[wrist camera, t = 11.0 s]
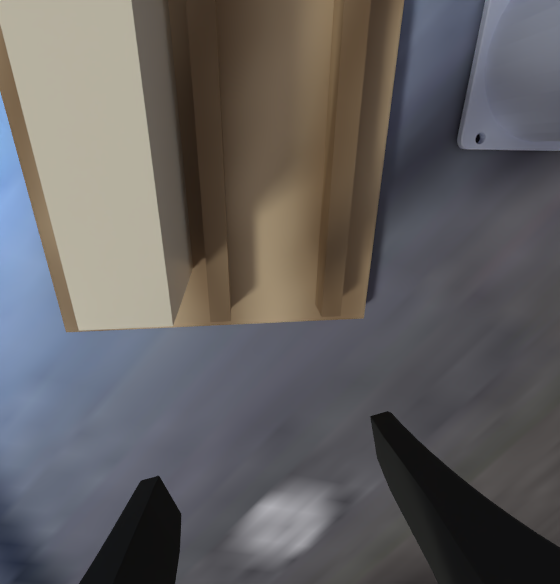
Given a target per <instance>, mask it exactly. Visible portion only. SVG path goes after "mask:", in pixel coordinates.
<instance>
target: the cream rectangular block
mask: <svg viewBox="0 0 560 584" xmlns="http://www.w3.org/2000/svg"><path fill="white" fill-rule="evenodd" d="M0 25H1V29H2V33H3V37H4V41H5V45H6V49H7V53H8V57H9V60H10V64H11V68H12V72H13V76H14V80H15V84H16V88H17V92H18V95H19V99H20V103H21V107H22V111H23V115H24V119H25V123H26V127H27V131H28V134H29V138H30V142H31V146H32V150H33V154H34V158H35V162H36V166H37V170H38V173H39V177H40V181H41V185H42V189H43V193H44V197H45V201H46V205H47V209H48V212H49V216H50V220H51V224H52V228H53V232H54V236H55V240H56V244H57V248H58V251H59V255H60V259H61V263H62V267H63V271H64V275H65V279H66V283H67V287H68V290H69V294H70V298H71V302H72V306H73V310H74V314H75V318H76V322H77V326H78V329H79V331H83V330H104V329H126V328H147V327H168V326H173V325H174V322H175V319H176V316H177V313H178V311H179V308H180V305H181V302H182V299H183V296H184V293H185V290H186V287H187V285H188V282H189V279H190V276H191V273H192V270H193V261H192V251H191V240H190V229H189V219H188V208H187V197H186V187H185V176H184V165H183V155H182V144H181V133H180V123H179V112H178V101H177V91H176V80H175V69H174V59H173V48H172V37H171V27H170V16H169V5H168V0H0Z"/></svg>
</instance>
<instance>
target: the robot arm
mask: <svg viewBox="0 0 560 584" xmlns="http://www.w3.org/2000/svg"><path fill="white" fill-rule="evenodd" d="M478 134H479V135H480V140H479V142H478V143H476V141H475V138H476V136H477V135H478ZM457 144H458V146H459V147H460V148H461V149H477V150H536V151H560V0H485V4H484V9H483V14H482V19H481V24H480V29H479V34H478V39H477V44H476V49H475V53H474V58H473V63H472V68H471V73H470V78H469V83H468V88H467V93H466V98H465V103H464V108H463V112H462V117H461V122H460V127H459V132H458V137H457ZM370 417H371V423H372V429H373V435H374V441H375V447H376V454H377V459H378V461H379V464H380V466H381V469H382V471H383V474H384V476H385V479H386V481H387V483H388V486H389V488H390V491H391V492H392V494H393V496H394V498H395V500H396V502H397V504H398V506H399V508H400V510H401V512H402V514H403V516H404V518H405V519H406V521H407V523H408V525H409V527H410V529H411V531H412V533H413V535H414V537H415V538H416V540H417V542H418V544H419V546H420V548H421V550H422V552H423V554H424V556H425V558H426V559H427V561H428V563H429V565H430V567H431V569H432V571H433V573H434V575H435V577H436V580H437V582H438V584H560V547H558V546H557V545H555V544H553V543H552V542H550V541H549V540H547V539H545V538H544V537H542V536H541V535H539V534H537V533H536V532H534V531H533V530H531V529H530V528H529V527H527V526H526V525H524V524H523V523H521V522H520V521H518V520H517V519H515V518H514V517H512V516H511V515H510V514H508V513H507V512H505V511H504V510H503V509H501V508H500V507H498V506H497V505H496V504H494V503H493V502H491V501H490V500H489V499H487V498H486V497H485V496H483V495H482V494H481V493H480V492H478V491H477V490H476V489H474V488H473V487H472V486H471V485H469V484H468V483H467V482H466V481H464V480H463V479H462V478H461V477H459V476H458V475H457V474H456V473H455V472H453V471H452V470H451V469H450V468H449V467H447V466H446V465H445V464H444V463H443V462H442V461H441V460H439V459H438V458H437V457H436V456H435V455H434V454H433V453H431V452H430V451H429V450H428V449H427V448H426V447H425V446H424V445H423V444H422V443H421V442H419V441H418V440H417V439H416V438H415V437H414V436H413V435H412V434H411V433H410V432H409V431H408V430H407V429H406V428H405V427H404V426H403V425H402V424H401V423H400V422H399V421H398V420H397V419H396V417H395V416H394V415H393V414H392V413H390V412H388V411H387V412H384V413H380V414H377V415H373V416H370ZM180 536H181V513H180V511H179V509H178V508H177V506H176V504H175V502H174V501H173V499H172V497H171V496H170V494H169V492H168V490H167V489H166V487H165V485H164V483H163V482H162V480H161V478H160V477H159V476H156V477H153V478H149V479H145V480H142V481H141V482H140V483H139V485H138V487H137V488H136V490H135V491H134V493H133V495H132V497H131V498H130V500H129V502H128V503H127V505H126V507H125V509H124V510H123V512H122V514H121V516H120V517H119V519H118V521H117V522H116V524H115V526H114V528H113V529H112V531H111V533H110V534H109V536H108V538H107V539H106V541H105V543H104V544H103V546H102V548H101V549H100V551H99V553H98V554H97V556H96V558H95V559H94V561H93V562H92V564H91V566H90V567H89V569H88V570H87V572H86V574H85V575H84V577H83V578H82V580H81V581H80V583H79V584H175V580H176V573H177V566H178V559H179V552H180Z"/></svg>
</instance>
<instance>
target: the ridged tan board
mask: <svg viewBox="0 0 560 584" xmlns="http://www.w3.org/2000/svg"><path fill="white" fill-rule="evenodd" d="M168 5H169V16H170V27H171V37H172V48H173V59H174V69H175V80H176V91H177V101H178V112H179V123H180V133H181V144H182V155H183V165H184V176H185V187H186V197H187V208H188V219H189V229H190V240H191V251H192V261H193V270H192V273H191V276H190V279H189V282H188V285H187V287H186V290H185V293H184V296H183V299H182V302H181V305H180V308H179V311H178V313H177V316H176V319H175V322H174V325H173V326H168V327H188V326H210V325H231V324H252V323H274V322H295V321H316V320H338V319H359V318H364V311H365V303H366V296H367V288H368V280H369V272H370V264H371V256H372V249H373V241H374V233H375V225H376V217H377V209H378V202H379V194H380V186H381V178H382V170H383V162H384V155H385V147H386V139H387V131H388V123H389V115H390V108H391V100H392V92H393V84H394V76H395V69H396V61H397V53H398V45H399V37H400V29H401V22H402V14H403V6H404V0H168ZM0 92H1V95H2V99H3V103H4V106H5V110H6V114H7V117H8V121H9V124H10V128H11V132H12V135H13V139H14V143H15V146H16V150H17V154H18V157H19V161H20V165H21V168H22V172H23V176H24V179H25V183H26V187H27V190H28V194H29V198H30V201H31V205H32V209H33V212H34V216H35V220H36V223H37V227H38V231H39V234H40V238H41V242H42V245H43V249H44V253H45V256H46V260H47V263H48V267H49V271H50V274H51V278H52V282H53V285H54V289H55V293H56V296H57V300H58V304H59V307H60V311H61V315H62V318H63V322H64V326H65V329H66V332H82V331H79V329H78V326H77V322H76V318H75V314H74V310H73V306H72V302H71V298H70V294H69V290H68V287H67V283H66V279H65V275H64V271H63V267H62V263H61V259H60V255H59V251H58V248H57V244H56V240H55V236H54V232H53V228H52V224H51V220H50V216H49V212H48V209H47V205H46V201H45V197H44V193H43V189H42V185H41V181H40V177H39V173H38V170H37V166H36V162H35V158H34V154H33V150H32V146H31V142H30V138H29V134H28V131H27V127H26V123H25V119H24V115H23V111H22V107H21V103H20V99H19V95H18V92H17V88H16V84H15V80H14V76H13V72H12V68H11V64H10V60H9V57H8V53H7V49H6V45H5V41H4V37H3V33H2V29H1V25H0ZM147 328H167V327H147ZM126 329H146V328H126ZM104 330H125V329H104ZM83 331H103V330H83Z"/></svg>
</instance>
